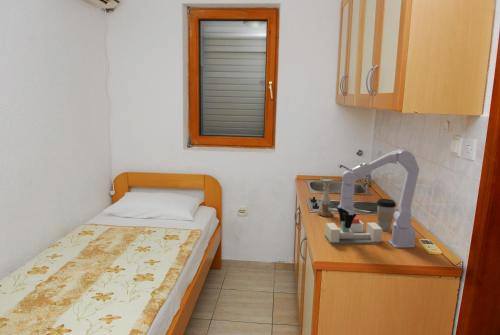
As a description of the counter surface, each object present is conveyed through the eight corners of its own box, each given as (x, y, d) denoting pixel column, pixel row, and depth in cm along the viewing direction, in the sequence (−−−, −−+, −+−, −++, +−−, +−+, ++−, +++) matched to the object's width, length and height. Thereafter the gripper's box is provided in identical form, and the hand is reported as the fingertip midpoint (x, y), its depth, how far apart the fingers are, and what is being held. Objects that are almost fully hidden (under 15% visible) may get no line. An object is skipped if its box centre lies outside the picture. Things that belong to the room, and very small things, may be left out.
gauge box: (357, 228, 202) (358, 218, 201) (363, 233, 195) (363, 224, 194) (342, 228, 202) (343, 218, 201) (347, 233, 194) (348, 224, 193)
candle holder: (335, 215, 222) (338, 180, 218) (322, 217, 218) (324, 181, 214) (327, 211, 230) (329, 177, 226) (314, 212, 226) (315, 178, 222)
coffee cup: (393, 227, 205) (395, 199, 202) (394, 233, 196) (397, 204, 193) (374, 225, 207) (376, 197, 204) (374, 231, 198) (376, 202, 195)
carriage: (348, 234, 189) (349, 219, 188) (353, 239, 182) (354, 224, 181) (336, 234, 189) (337, 220, 187) (340, 239, 182) (341, 225, 180)
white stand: (373, 235, 192) (374, 222, 190) (381, 243, 182) (382, 229, 181) (324, 236, 190) (325, 222, 189) (330, 244, 180) (331, 230, 179)
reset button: (355, 222, 200) (356, 216, 199) (358, 225, 195) (359, 219, 195) (347, 222, 199) (347, 216, 199) (350, 225, 195) (350, 219, 194)
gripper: (334, 192, 188) (332, 219, 191) (343, 201, 174) (341, 230, 177) (348, 192, 189) (346, 219, 192) (359, 201, 175) (356, 230, 177)
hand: (345, 224), depth 184 cm, fingers open, 7 cm apart
